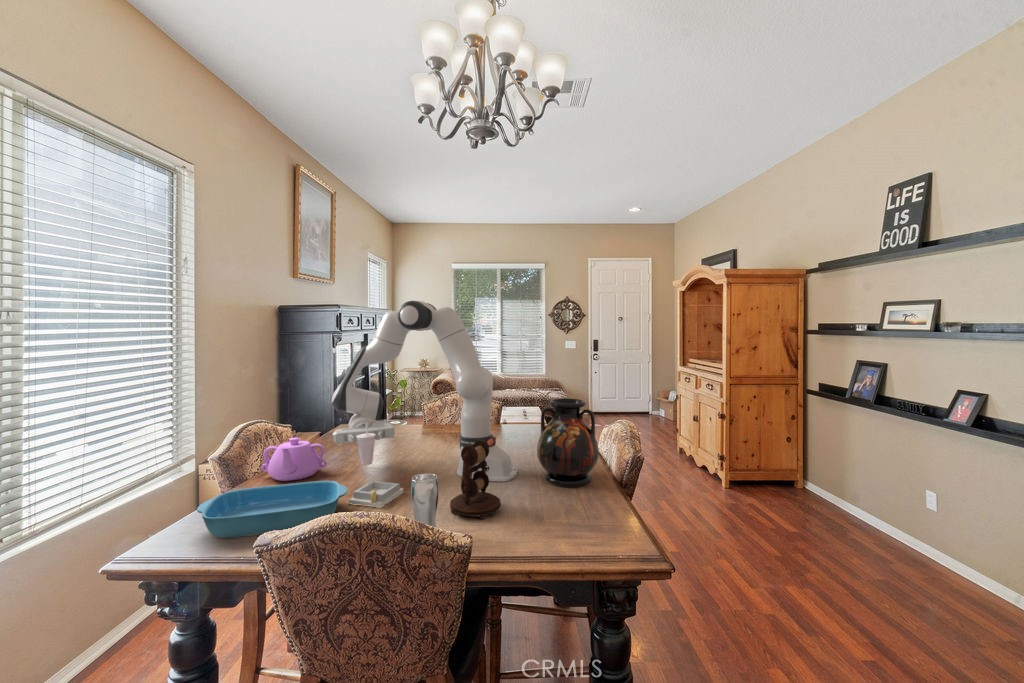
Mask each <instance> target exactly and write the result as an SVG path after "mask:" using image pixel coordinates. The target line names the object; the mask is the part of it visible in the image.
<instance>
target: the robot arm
mask: <svg viewBox="0 0 1024 683" xmlns="http://www.w3.org/2000/svg"><path fill="white" fill-rule="evenodd" d="M429 330H431V331H432V332H433V333H434V334H435V337H436V340H438V343H439V345H440V347H441V350H442V351H443V353H444V355H445V357H446V359H447V362H448V364H449V368H450V371H451V374H452V379H453V380H454V384H455V388H456V392H457V393H458V395H459V396H460V397H461V398H462V407H461V411H460V435H459V450H460V451H459V452H460V454H459V461H458V465H457V466H458V467H457V470H456V474H457V475H458V476H459V477H461V478H462V472H463V460H462V458H461V451H462V449H463V447H465V446H467V445H470V446H473V444H474V443H475V442H476V441H478V440H482V441H484V442H486V443H487V445H488V447H489V454H488V456H487V457H486V459H485V461H486V462H487V466H486V468H485V472H486V474H487V476H488V478H489V482H508V481H511V480H513V479H514V478H515V477H516V476H517V475H518V468H517V467H516V466H512V465H513V464H512V459H511V457H510V455H509V454H508V453H507V452H506V451H504V450H503V449H502V448H501V447H499V445H497V435H493V434H492V431H491V430H492V429H491V427H492V426H491V425H492V424H491V423H492V420H491V418H492V416H491V415H492V414H491V413H492V411H491V410H492V400H493V387H494V377H493V374H492V373H491V371H490V370H489V369H488V368H486V367H484V366H481V363H480V360H479V357H478V355H477V350H476V347H475V344H474V343H473V340H472V338H471V337H470V334H469V332H468V330H467V328H466V327H465V324H464V323H463V321H462V319H461V318H460V316H459V315H458V314H457V312H456V311H455V310H454V309H453V308H452V307H448V306H447V307H446V306H445V307H444V306H443V307H441V308H440V307H439V308H438V309H437V308H436V307H435V306H434V305H433V304H432V303H431V304H430V303H428V302H425V301H423V300H422V301H421V300H409V301H406V302H404V303H403V304H401V305H400V306H399V308H398V311H395V310H390V311H387V312H386V313H384V315H383V316H382V318H381V319H380V321H379V324H378V326H377V328H376V331H375V333H374V337H373V339H372V340H371V342H370V343H368V344H367V345H366V346H362V347H361V348H360V349H359V350H358V352H357V353H356V355H355V357H354V358H353V360H352V362H351V364H350V365H349V368H348V369H347V371H346V373H345V374H344V376H343V378H342V380H341V381H340V383H339V385H338V386H337V387H336V388H335V391H334V392H333V395H331V396H332V397H331V405H332V407H333V409H334V410H335V411H336V412H339V413H340V412H341V413H348V414H349V413H350V414H353V415H352V416H351V417H350V419H349V421H348V427H345V428H344V427H343V428H339V429H338V428H337V429H335V430H334V431H333V432H332V434H331V435H332V437H333V443H334V444H344V443H358V442H357V440H356V436H357V435H359V434H364V433H366V423H368V433H374V434H376V438H375V441H380V440H381V439H392V438H394V437H395V426H394V425H393V424H392V423H391V422H389V421H388V419H381V416H382V413H383V411H384V402H385V401H384V399H383V396H382V394H381V393H380V392H377V391H373V390H369V389H363V388H358V387H355V386H353V385H354V383H355V381H356V379H357V378H358V376H359V374H360V372H361V370H362V369H364V368H365V367H367V366H370V365H376V364H386V363H390V362H392V361H394V360H396V359H397V358H398V357H399V355H400V354H401V352H402V349H403V346H404V343H405V340H406V337H407V335H408V334H409V333H410V331H411V332H412V331H417V332H421V331H423V332H424V331H429ZM478 464H479V463H478ZM478 464H476V465H478ZM476 465H475V466H476ZM481 470H482V469H481V468H479V470H477V471H481ZM477 471H475V472H477ZM475 472H473V473H472V479H473V475H474V473H475Z"/></svg>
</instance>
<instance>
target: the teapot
mask: <svg viewBox="0 0 1024 683" xmlns="http://www.w3.org/2000/svg"><path fill="white" fill-rule="evenodd" d="M315 447H316V448H319V449H320V455H319V454H318V451H317V450H316V449H315ZM271 450H274V452H273V453H272V455H271V457H270V458H269V456H268V455H269V454H268V452H269V451H271ZM324 455H325V447H324V445H322V444H321V443H313V444H312V443H311V442H310V441H308V440H300V437H290V438H289V439H288V441H286V442H283V443H281V444H279V445H278V446H275V445H272V446H268V447H267V448H265V450H264V451H263V459H264V462H265V463H263V464H262V465H261V469H260V470H261V471H262V472H264V473H265V472H266V473H268V474H269V476H270V477H271V478H272V479H273V480H276V481H284V482H288V481H296V480H304V479H306V478H310V477H312V476H314V475H315V474H316V473H317V472H318V470H319V469H323V468H325V467H327V465H328V462H327V459H323V458H324ZM322 463H323V464H322ZM303 478H304V479H303Z"/></svg>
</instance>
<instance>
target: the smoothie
mask: <svg viewBox="0 0 1024 683" xmlns="http://www.w3.org/2000/svg"><path fill="white" fill-rule="evenodd" d="M375 438H376V434H374V433H368V423H366V433H364V434H359V435H357V436H356V440H357V442H356V443H357V448H358V449H357V450H358V454H359V461H360V465H361V466H370V465H372V464H373V460H374V451H375V450H374V449H375V441H376V439H375Z"/></svg>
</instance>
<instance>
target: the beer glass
mask: <svg viewBox="0 0 1024 683" xmlns="http://www.w3.org/2000/svg"><path fill="white" fill-rule="evenodd" d="M438 480H439V479H438V475H437V474H434V473H419V474H415V475H414V476H412V477H411V487H410V500H411V506H412V508H411V509H412V514H413V518H414V520H413V521H415V520H416V521H419V522H422V523H424V524H427V525H430V526H433V527H436V528H437V525H436V524H437V523H436V519H437V510H438V503H439V481H438Z"/></svg>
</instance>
